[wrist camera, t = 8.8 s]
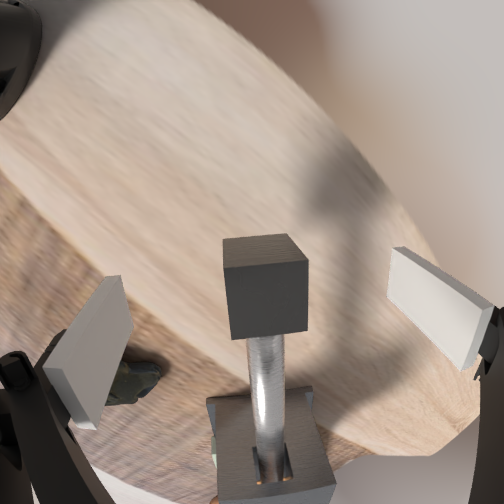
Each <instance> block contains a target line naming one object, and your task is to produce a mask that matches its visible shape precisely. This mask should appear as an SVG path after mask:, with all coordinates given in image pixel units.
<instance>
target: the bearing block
mask: <svg viewBox="0 0 504 504" xmlns="http://www.w3.org/2000/svg"><path fill="white" fill-rule="evenodd" d="M312 402H313V389H312V386H307V387H301V388H295V389H289V390H285V434H284V478H285V481H279V482H272V483H264V484H257V481H260V472H259V464H258V455H257V445H256V436H255V427H254V417H253V408H252V398H251V395H242V396H231V397H219V398H206V406H207V410H208V414H209V417H210V421H211V425H212V429H213V433H214V436H215V440H216V462H217V488H218V502H219V504H329V502H330V500H331V497H332V495H333V492H334V490H335V487H336V480H335V477H334V475H333V472H332V469H331V466H330V463H329V460H328V457H327V455H326V452H325V449H324V446H323V443H322V440H321V437H320V435H319V432H318V429H317V426H316V423H315V420H314V418H313V415H312Z"/></svg>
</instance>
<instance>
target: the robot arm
mask: <svg viewBox="0 0 504 504" xmlns="http://www.w3.org/2000/svg"><path fill="white" fill-rule="evenodd" d="M41 37H42V25H41V20H40V17H39V15H38V13H37V12H36V11H35V10H34V9H33V8H32V7H30V6H29V5H27V4H25V3H24V2H22V1H19V0H0V120H1V119H2V118H3V117H4V116H5V114H6V113H7V112H8V111H9V110H10V108H11V107H12V106H13V104H14V103H15V102H16V100H17V99H18V97H19V96H20V94H21V92H22V91H23V89H24V87H25V85H26V83H27V81H28V79H29V77H30V75H31V73H32V70H33V68H34V65H35V62H36V60H37V56H38V53H39V49H40V44H41ZM386 297H387V298H388V299H389V300H390V301H392V302H393V303H394V304H395V305H396V306H397V307H398V308H399V309H400V310H401V311H402V312H403V313H404V314H405V315H406V316H407V317H408V318H409V319H410V320H411V321H412V322H413V323H414V324H415V325H416V326H417V327H418V328H419V329H420V330H421V331H422V332H423V333H424V334H425V335H426V336H427V337H428V338H429V339H430V340H431V341H432V342H433V343H434V344H435V345H436V346H437V347H438V348H439V349H440V350H441V351H442V352H443V353H444V355H445V356H446V357H447V358H448V359H449V360H450V361H451V362H452V363H453V364H454V365H455V366H456V367H457V368H458V369H459V370H460V372H461V371H463V370H465V369H467V368H469V367H471V366H473V364H474V362H475V360H476V357H477V355H478V353H479V354H480V355H481V356H482V357H483V358H482V360H481V363H480V365H479V367H478V370H477V372H476V374H475V376H474V380H476V379H477V376H479V375H480V379H479V381H480V424H479V438H478V448H477V457H476V464H475V471H474V477H473V483H472V488H471V493H470V498H469V502H468V504H504V307H502V308H501V309H499V308H497V307H496V306H494V305H493V304H492V303H490V302H489V301H487V300H486V299H485V298H483V297H482V296H480V295H479V294H477V293H476V292H474V291H473V290H472V289H470V288H469V287H467V286H465V285H464V284H463V283H461V282H460V281H458V280H457V279H455V278H454V277H452V276H450V275H449V274H447V273H446V272H444V271H443V270H441V269H440V268H438V267H437V266H435V265H433V264H432V263H430V262H429V261H427V260H425V259H424V258H422V257H421V256H419V255H417V254H416V253H414V252H412V251H411V250H409V249H407V248H406V247H396V248H392V255H391V264H390V273H389V281H388V289H387V296H386ZM133 327H134V325H133V321H132V318H131V314H130V311H129V307H128V303H127V299H126V295H125V292H124V288H123V283H122V279H121V275H118V276H107V277H105V279H104V280H103V281H102V282H101V284H100V285H99V286H98V288H97V289H96V290H95V292H94V293H93V294H92V296H91V297H90V298H89V300H88V301H87V302H86V304H85V305H84V306H83V308H82V309H81V311H80V312H79V313H78V315H77V316H76V317H75V319H74V320H73V322H72V323H71V325H70V326H69V327H68V329H64V330H62V331H61V332H60V333H58V334H57V335H56V336H55V337H54V338H53V340H52V341H51V342H50V344H49V346H48V347H47V348H46V350H45V353H43V354H42V356H41V357H40V359H39V360H38V362H37V363H36V365H35V366H34V368H33V367H32V365H31V363H30V361H29V359H28V357H27V355H26V354H25V353H24V352H22V351H14V352H10V353H8V354H6V355H4V356H2V357H1V358H0V381H1V383H2V385H3V386H4V388H5V389H0V504H34V501H33V494H32V488H31V484H32V486H33V488H34V491H35V494H36V496H37V498H38V501H39V503H40V504H116V503H115V502H114V501H113V499H112V498H111V496H110V495H109V493H108V492H107V490H106V489H105V487H104V486H103V484H102V483H101V481H100V480H99V478H98V477H97V475H96V474H95V472H94V470H93V469H92V467H91V465H90V464H89V462H88V460H87V459H86V457H85V455H84V453H83V451H82V450H81V448H80V446H79V444H78V442H77V440H76V439H75V437H74V435H73V433H72V431H71V429H70V428H69V426H68V422H69V420H70V417H71V418H72V419H73V421H74V422H75V424H76V425H77V427H78V428H84V429H92V430H97V428H98V424H99V421H100V418H101V415H102V412H103V409H104V406H105V403H106V400H107V397H108V394H109V391H110V388H111V385H112V382H113V380H114V377H115V374H116V371H117V369H118V366H119V363H120V361H121V358H122V355H123V353H124V350H125V347H126V345H127V342H128V340H129V337H130V335H131V332H132V330H133Z"/></svg>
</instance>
